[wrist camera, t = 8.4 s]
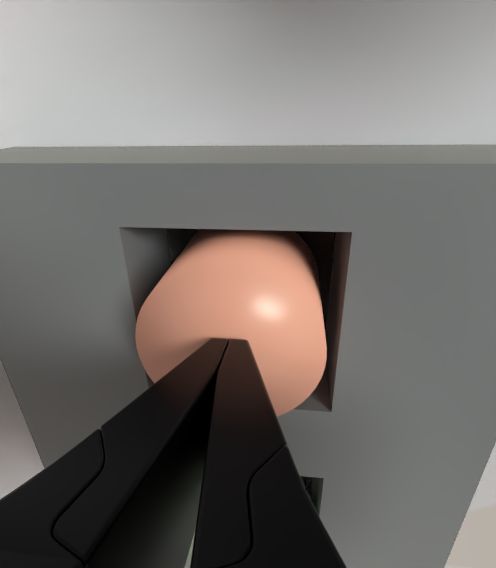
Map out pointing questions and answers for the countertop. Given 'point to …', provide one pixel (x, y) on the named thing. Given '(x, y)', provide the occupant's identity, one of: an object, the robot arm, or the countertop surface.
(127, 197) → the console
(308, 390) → the coral button
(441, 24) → the countertop surface
